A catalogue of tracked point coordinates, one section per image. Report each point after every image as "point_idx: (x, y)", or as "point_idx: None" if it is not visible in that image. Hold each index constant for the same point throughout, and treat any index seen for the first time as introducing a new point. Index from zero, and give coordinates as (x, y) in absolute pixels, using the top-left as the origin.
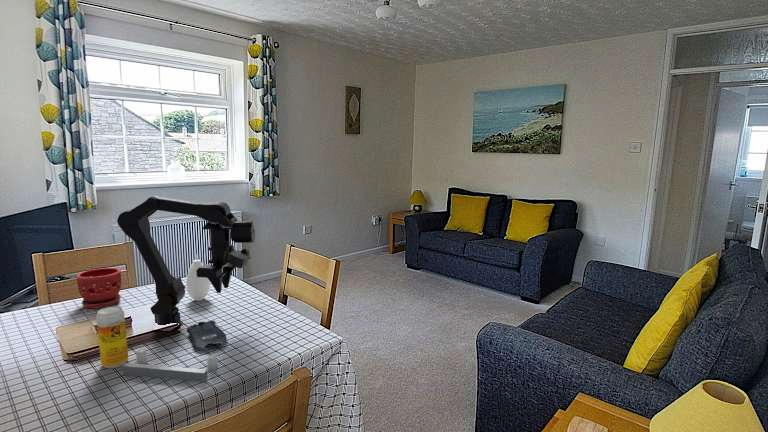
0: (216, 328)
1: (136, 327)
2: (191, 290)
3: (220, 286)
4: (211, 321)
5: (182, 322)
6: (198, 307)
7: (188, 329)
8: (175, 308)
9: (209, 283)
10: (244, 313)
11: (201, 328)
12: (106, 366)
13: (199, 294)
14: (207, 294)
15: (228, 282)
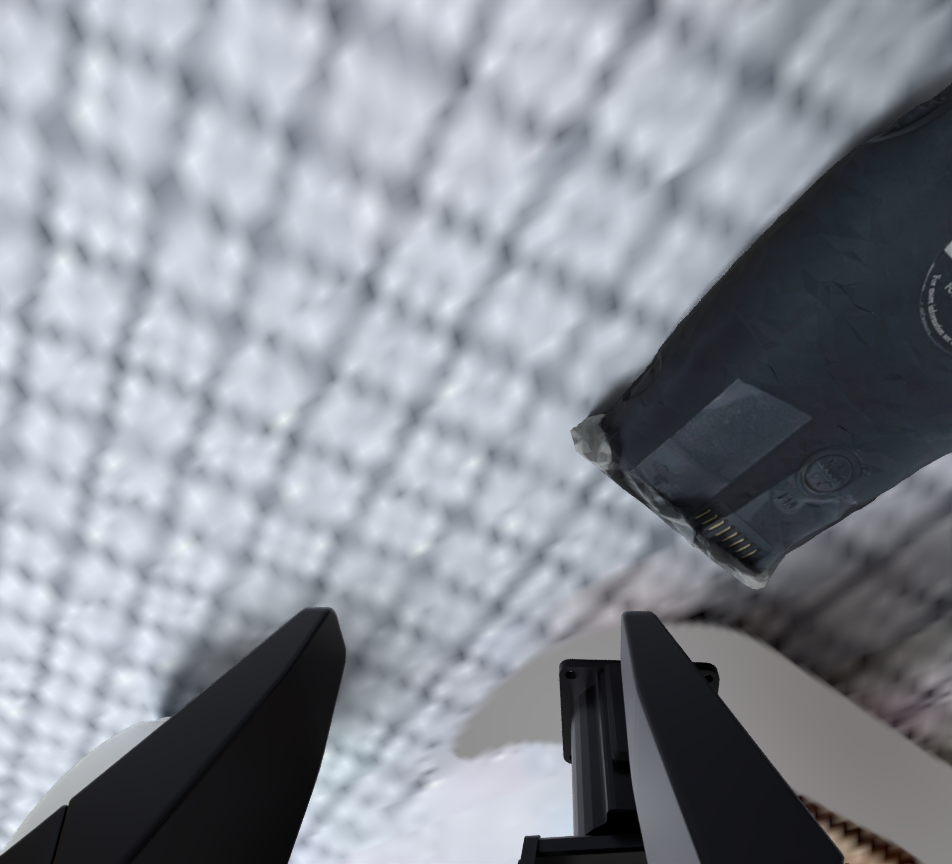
0: (776, 324)
1: None
2: None
3: (760, 760)
4: (614, 461)
5: (568, 666)
6: None
7: (776, 565)
8: (637, 818)
9: (50, 808)
10: (217, 315)
11: (779, 470)
12: None
13: None
14: (131, 727)
15: (251, 698)
